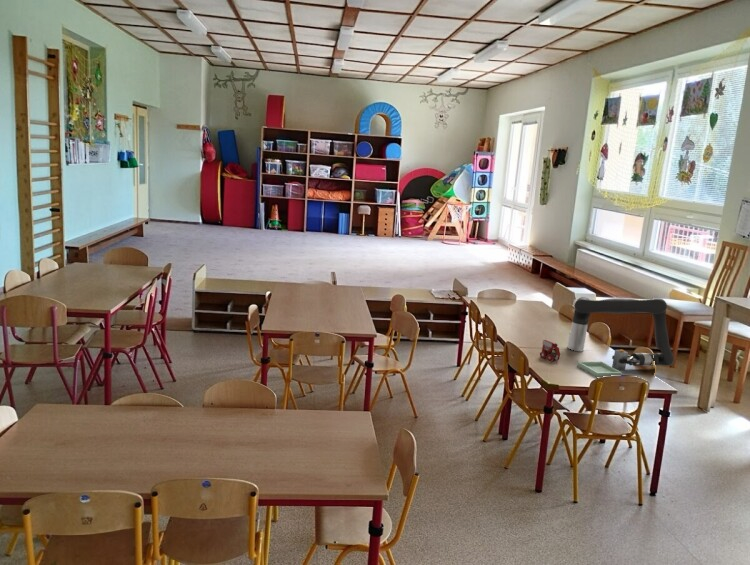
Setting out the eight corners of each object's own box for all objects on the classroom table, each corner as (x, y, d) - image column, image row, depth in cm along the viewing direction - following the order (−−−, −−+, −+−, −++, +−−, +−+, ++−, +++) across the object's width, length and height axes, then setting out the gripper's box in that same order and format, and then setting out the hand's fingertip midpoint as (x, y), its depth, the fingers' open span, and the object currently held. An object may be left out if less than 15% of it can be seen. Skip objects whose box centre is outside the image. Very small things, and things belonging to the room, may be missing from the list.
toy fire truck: (554, 363, 347) (556, 346, 345) (537, 356, 357) (539, 339, 355) (561, 361, 351) (564, 344, 349) (544, 355, 361) (547, 338, 359)
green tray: (577, 366, 345) (577, 361, 344) (600, 366, 350) (601, 361, 349) (596, 378, 328) (597, 372, 328) (621, 377, 333) (622, 372, 332)
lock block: (611, 368, 349) (615, 348, 346) (619, 367, 350) (622, 348, 348) (617, 371, 344) (621, 351, 342) (624, 371, 346) (628, 351, 343)
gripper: (633, 349, 356) (609, 349, 351) (650, 357, 343) (626, 357, 338) (631, 361, 358) (607, 361, 353) (648, 369, 344) (623, 370, 339)
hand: (616, 359), depth 345 cm, fingers open, 6 cm apart
